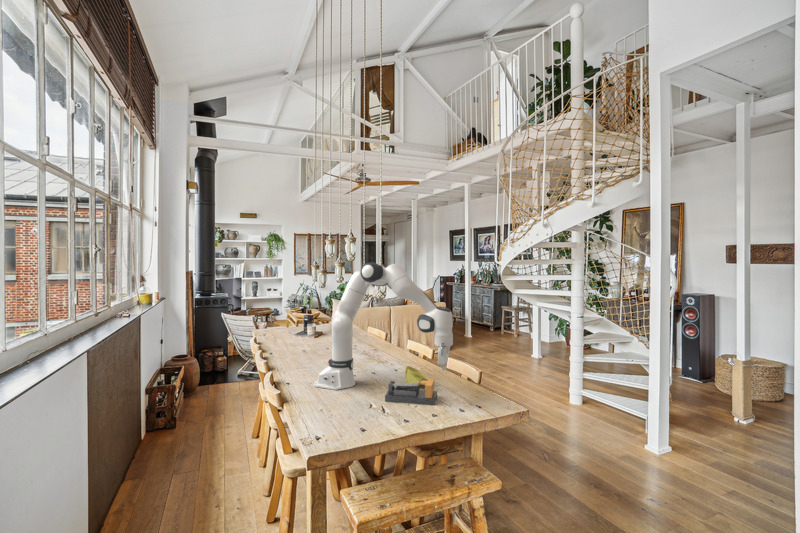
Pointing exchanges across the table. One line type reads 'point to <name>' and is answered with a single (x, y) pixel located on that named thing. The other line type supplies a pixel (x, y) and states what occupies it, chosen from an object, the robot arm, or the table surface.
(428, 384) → the clip
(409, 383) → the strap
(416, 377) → the plastic component
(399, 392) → the heatsink
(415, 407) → the table surface
